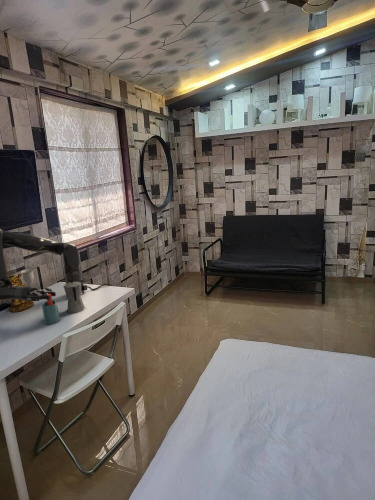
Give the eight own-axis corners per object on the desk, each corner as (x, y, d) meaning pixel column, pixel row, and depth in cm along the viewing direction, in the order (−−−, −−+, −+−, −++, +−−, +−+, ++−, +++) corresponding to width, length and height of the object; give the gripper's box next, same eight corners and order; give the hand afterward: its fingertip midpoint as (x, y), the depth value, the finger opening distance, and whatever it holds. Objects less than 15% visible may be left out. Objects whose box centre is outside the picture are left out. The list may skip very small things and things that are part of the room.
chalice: (33, 300, 204) (28, 272, 200) (23, 299, 206) (18, 272, 202) (40, 295, 211) (35, 268, 207) (31, 295, 213) (26, 268, 208)
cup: (54, 317, 178) (51, 299, 175) (62, 319, 174) (59, 302, 171) (42, 322, 172) (38, 304, 170) (50, 325, 168) (47, 307, 166)
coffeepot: (66, 307, 190) (61, 277, 185) (83, 303, 193) (78, 274, 189) (69, 317, 176) (64, 285, 172) (87, 313, 180) (82, 282, 176)
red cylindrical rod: (52, 318, 174) (49, 293, 171) (55, 319, 173) (52, 294, 170) (48, 320, 172) (45, 294, 169) (51, 321, 171) (48, 295, 168)
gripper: (14, 291, 167) (40, 294, 161) (35, 282, 180) (60, 284, 174) (16, 305, 169) (43, 308, 163) (37, 295, 182) (62, 297, 176)
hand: (52, 295), depth 168 cm, fingers open, 4 cm apart
